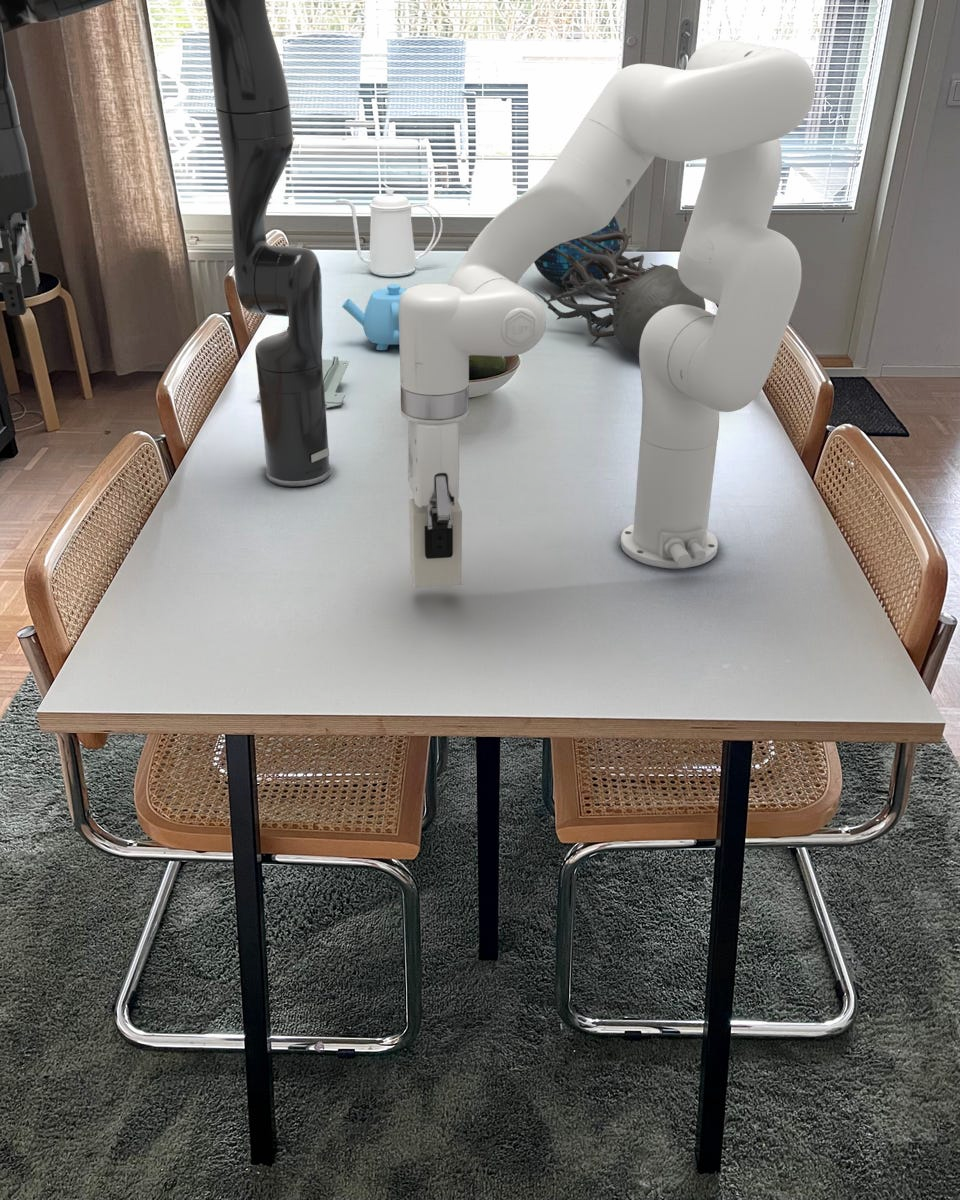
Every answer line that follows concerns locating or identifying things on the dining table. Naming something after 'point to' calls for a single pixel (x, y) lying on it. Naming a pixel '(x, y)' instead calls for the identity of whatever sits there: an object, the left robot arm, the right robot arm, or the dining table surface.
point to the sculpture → (620, 290)
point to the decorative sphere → (557, 265)
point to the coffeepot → (391, 234)
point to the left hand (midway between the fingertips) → (23, 304)
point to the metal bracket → (332, 381)
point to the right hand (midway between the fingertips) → (436, 545)
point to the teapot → (380, 316)
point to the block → (436, 568)
